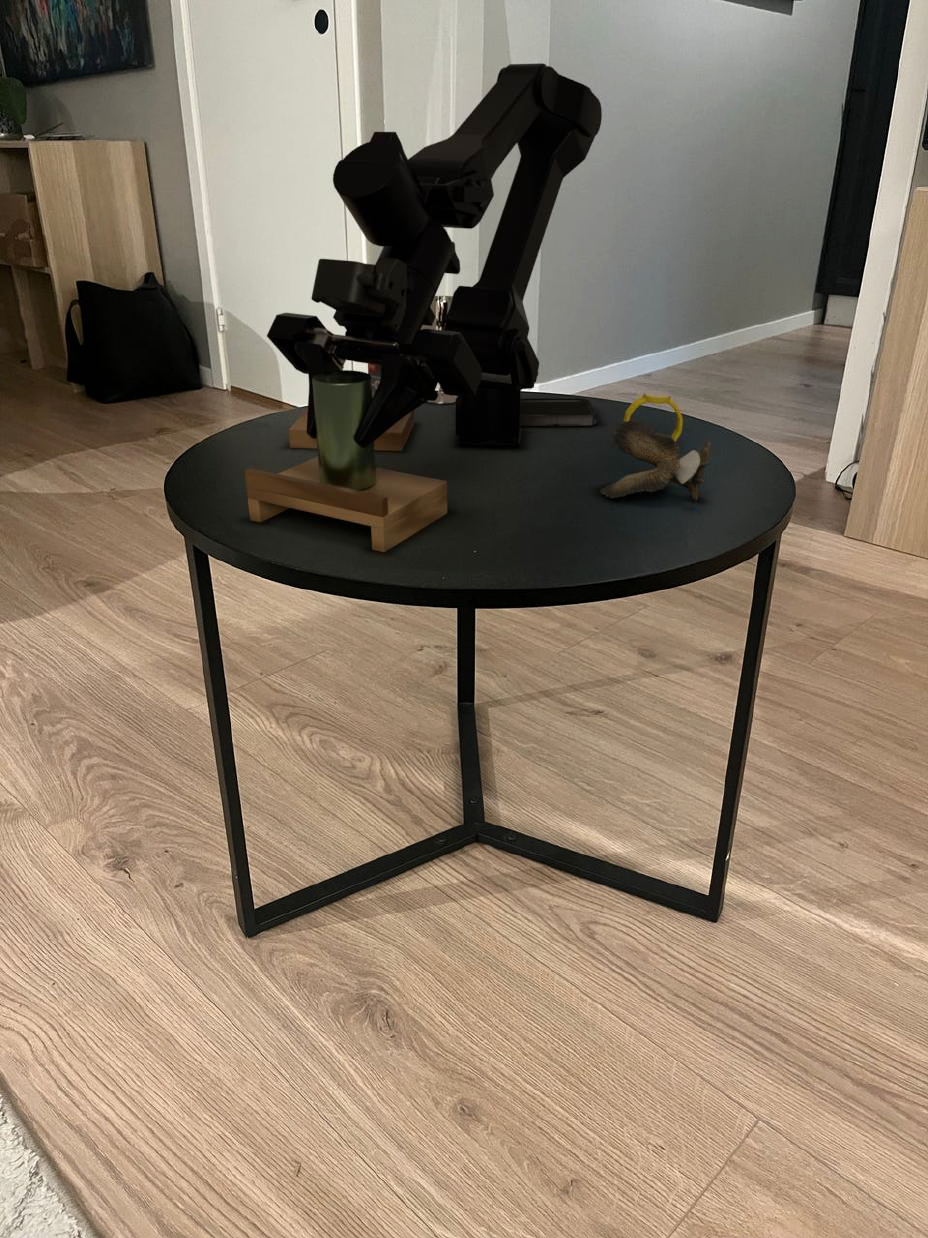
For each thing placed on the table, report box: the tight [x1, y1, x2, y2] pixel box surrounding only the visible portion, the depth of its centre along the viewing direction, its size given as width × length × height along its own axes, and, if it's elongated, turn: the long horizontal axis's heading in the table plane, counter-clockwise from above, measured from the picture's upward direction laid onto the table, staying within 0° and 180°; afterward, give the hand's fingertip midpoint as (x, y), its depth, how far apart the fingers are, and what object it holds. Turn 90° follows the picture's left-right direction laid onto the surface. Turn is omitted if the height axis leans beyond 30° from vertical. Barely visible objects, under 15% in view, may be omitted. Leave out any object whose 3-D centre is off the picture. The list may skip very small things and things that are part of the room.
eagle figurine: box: [599, 419, 712, 502], centre depth 87 cm, size 8×7×9 cm
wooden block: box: [288, 407, 415, 452], centre depth 104 cm, size 12×10×2 cm
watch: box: [622, 390, 684, 443], centre depth 99 cm, size 6×3×6 cm, turn 89°
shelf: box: [244, 456, 448, 553], centre depth 82 cm, size 10×14×4 cm
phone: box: [520, 397, 598, 427], centre depth 111 cm, size 8×1×15 cm
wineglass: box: [421, 295, 457, 405], centre depth 116 cm, size 6×6×12 cm
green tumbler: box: [312, 369, 377, 490], centre depth 80 cm, size 5×5×9 cm
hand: (335, 440), depth 79 cm, fingers closed on green tumbler, 5 cm apart
